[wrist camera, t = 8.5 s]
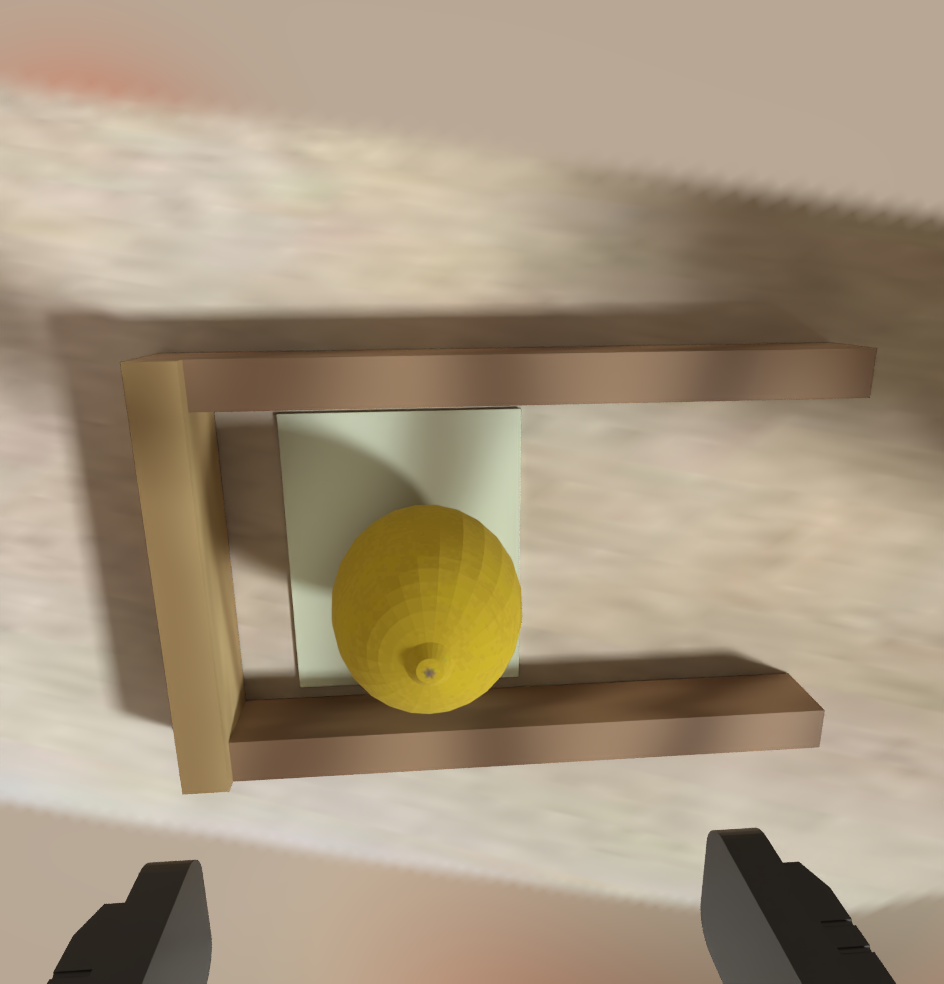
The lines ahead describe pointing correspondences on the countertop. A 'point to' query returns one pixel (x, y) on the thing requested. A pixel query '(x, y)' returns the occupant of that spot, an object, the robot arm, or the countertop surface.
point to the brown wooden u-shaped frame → (403, 483)
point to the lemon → (426, 609)
